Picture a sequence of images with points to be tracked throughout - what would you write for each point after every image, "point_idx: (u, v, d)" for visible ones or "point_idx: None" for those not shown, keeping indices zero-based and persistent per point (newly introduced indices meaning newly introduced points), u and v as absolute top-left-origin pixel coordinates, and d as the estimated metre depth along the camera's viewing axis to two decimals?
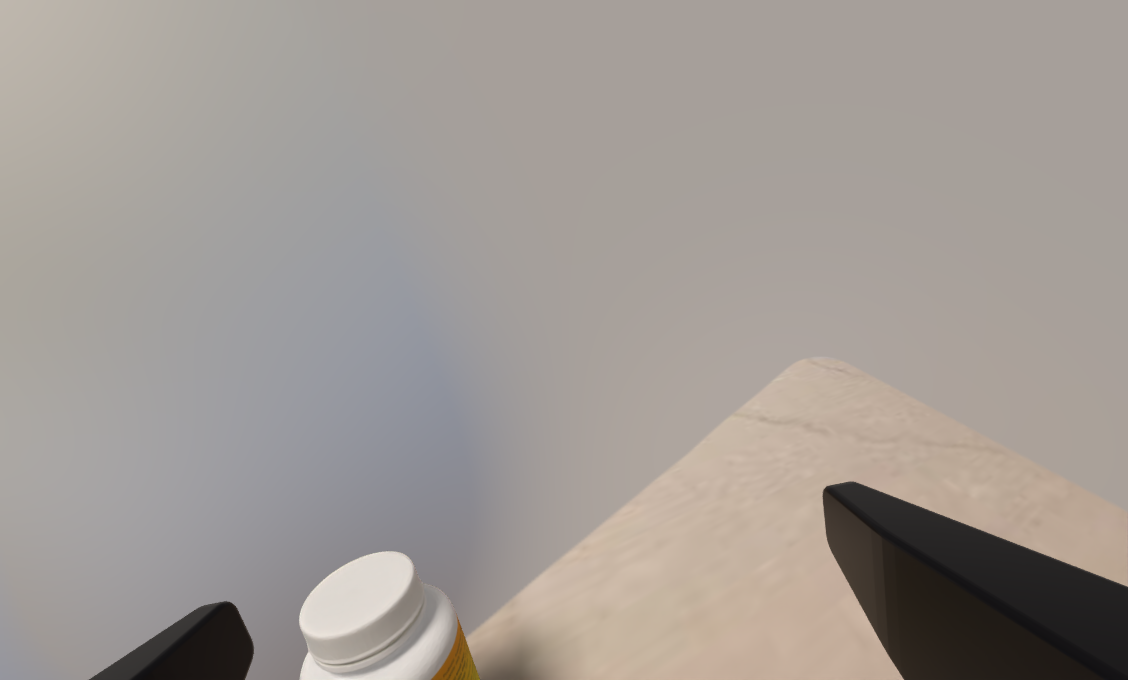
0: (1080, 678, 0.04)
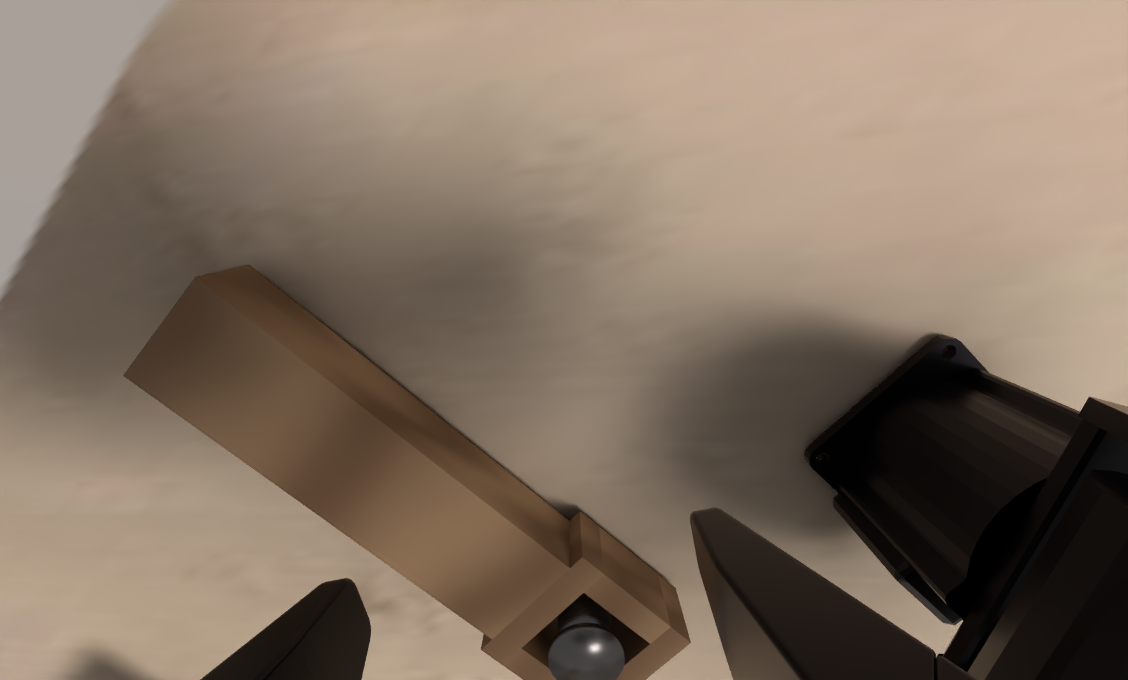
0: None
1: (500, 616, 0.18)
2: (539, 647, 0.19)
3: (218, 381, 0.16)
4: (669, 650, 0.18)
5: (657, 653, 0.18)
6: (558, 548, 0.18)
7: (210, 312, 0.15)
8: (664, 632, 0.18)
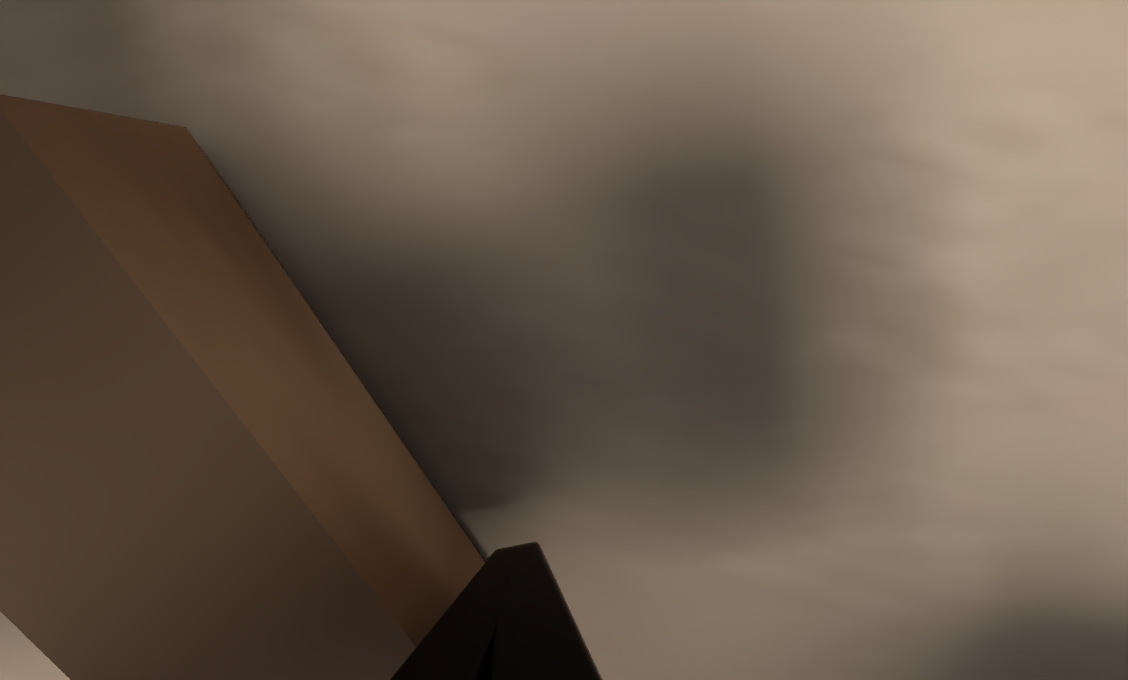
0: None
1: None
2: None
3: None
4: None
5: None
6: None
7: (8, 210, 0.05)
8: None
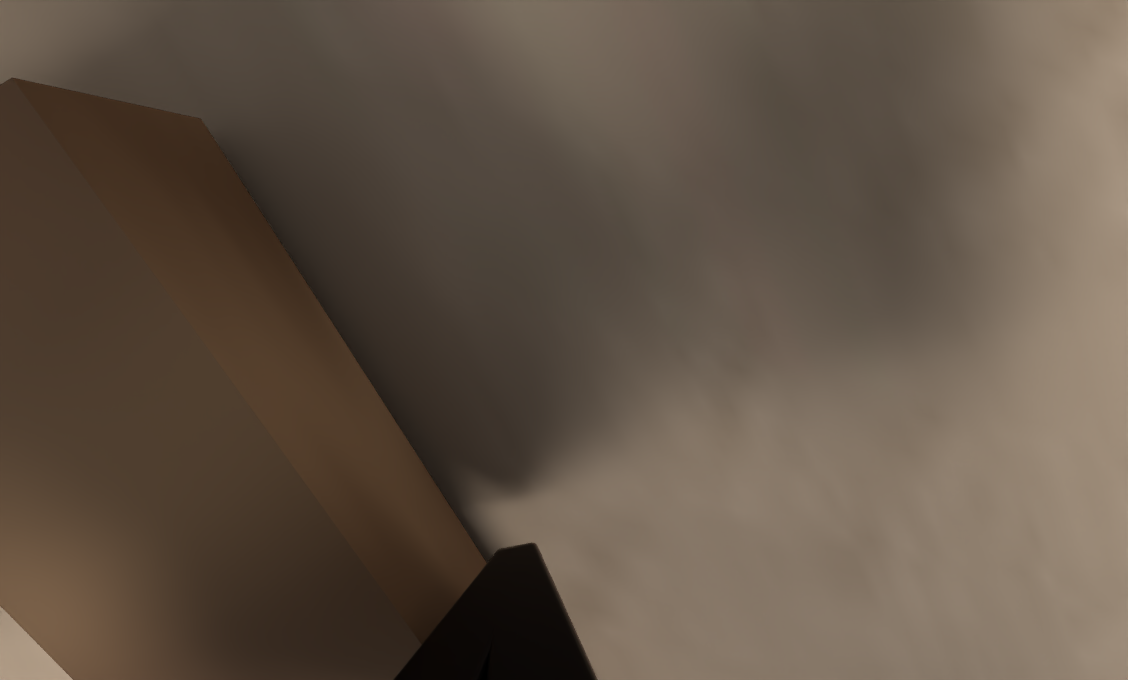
0: None
1: None
2: None
3: None
4: None
5: None
6: None
7: (28, 198, 0.05)
8: None
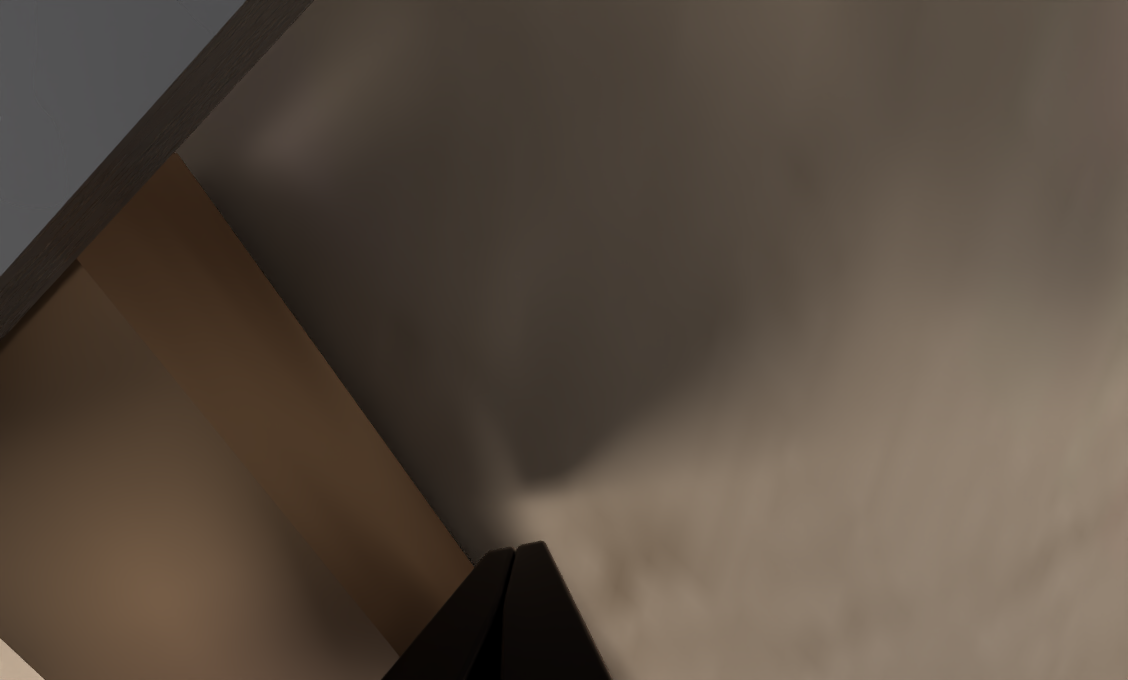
0: None
1: None
2: None
3: None
4: None
5: None
6: None
7: None
8: None
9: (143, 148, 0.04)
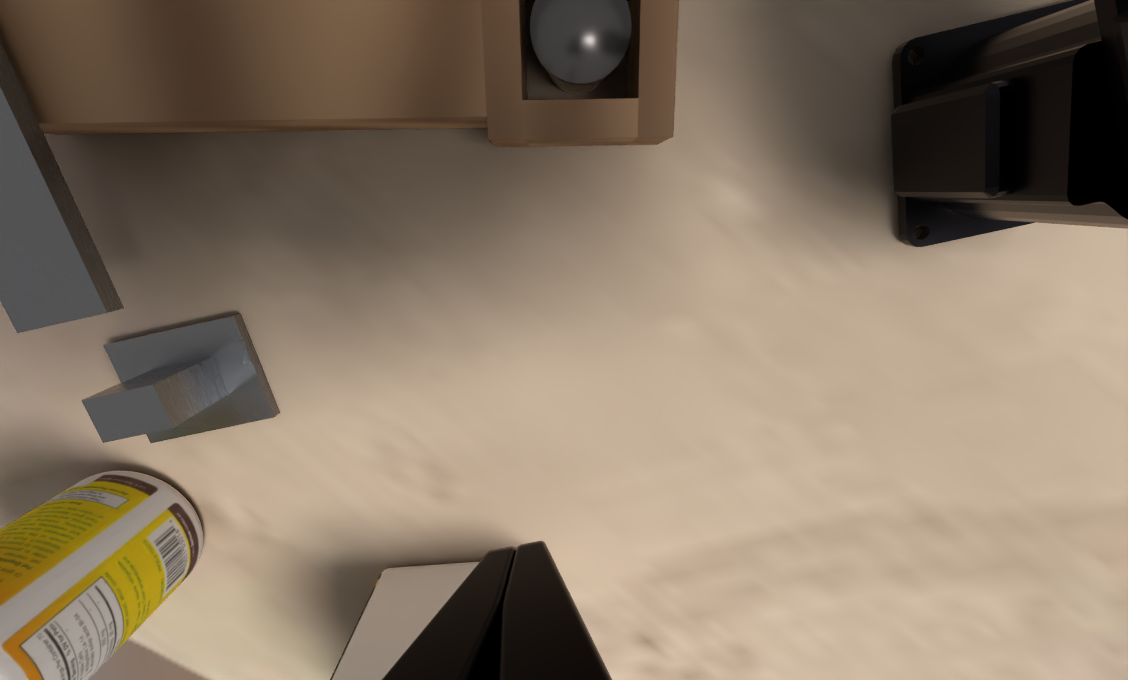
0: None
1: (469, 79, 0.14)
2: None
3: (28, 52, 0.14)
4: None
5: None
6: None
7: None
8: None
9: None
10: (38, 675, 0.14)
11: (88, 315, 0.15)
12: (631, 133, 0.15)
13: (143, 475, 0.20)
